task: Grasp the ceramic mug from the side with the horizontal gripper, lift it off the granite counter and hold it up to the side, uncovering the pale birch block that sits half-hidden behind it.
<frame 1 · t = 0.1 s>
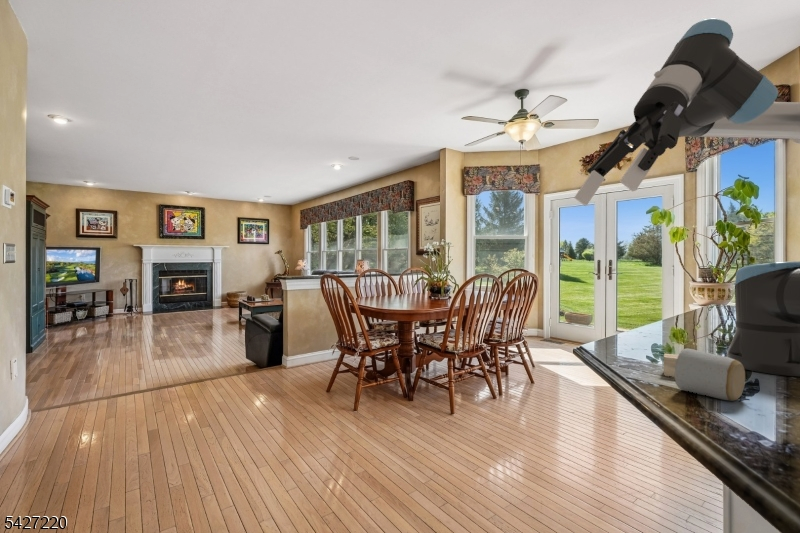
hand: (601, 194, 67), 36 cm above the countertop, tool tilted 35°, fingers open, 13 cm apart
ceramic mug: (710, 395, 67), on the countertop
birch block: (676, 375, 78), on the countertop
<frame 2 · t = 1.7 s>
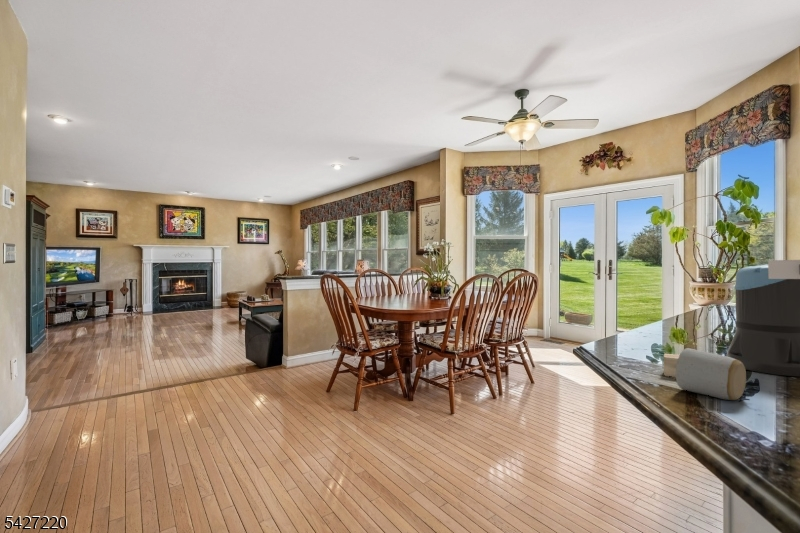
hand: (782, 269, 59), 22 cm above the countertop, tool horizontal, fingers open, 13 cm apart
nothing on the countertop moved.
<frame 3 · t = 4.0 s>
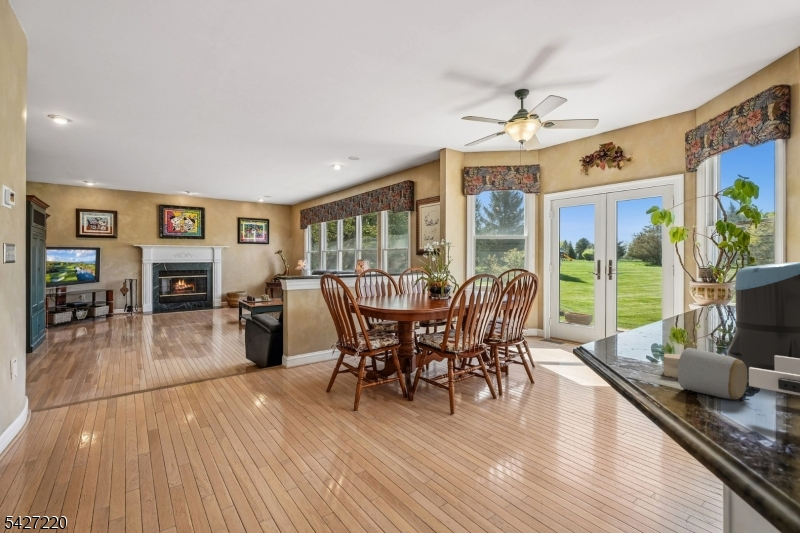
hand: (762, 369, 61), 6 cm above the countertop, tool horizontal, fingers open, 13 cm apart
nothing on the countertop moved.
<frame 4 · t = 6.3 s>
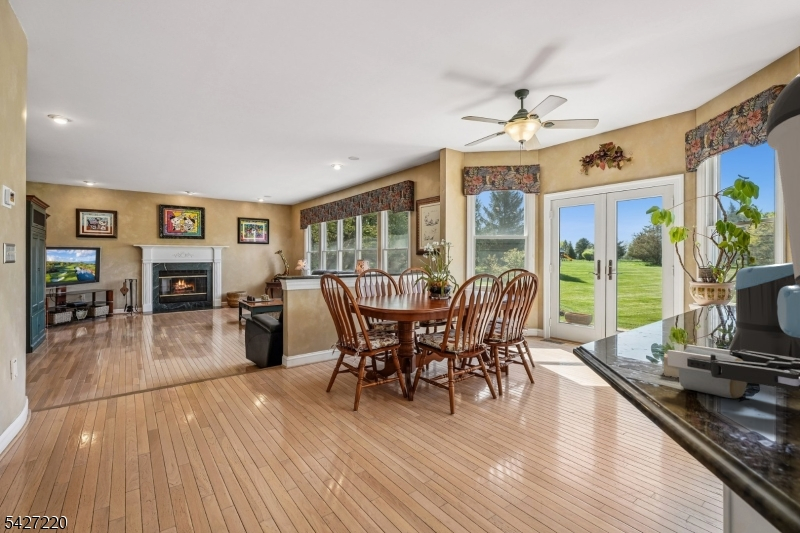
hand: (678, 354, 71), 6 cm above the countertop, tool horizontal, fingers closed on ceramic mug, 7 cm apart
ceramic mug: (713, 393, 67), on the countertop, touching gripper
everything else where it was.
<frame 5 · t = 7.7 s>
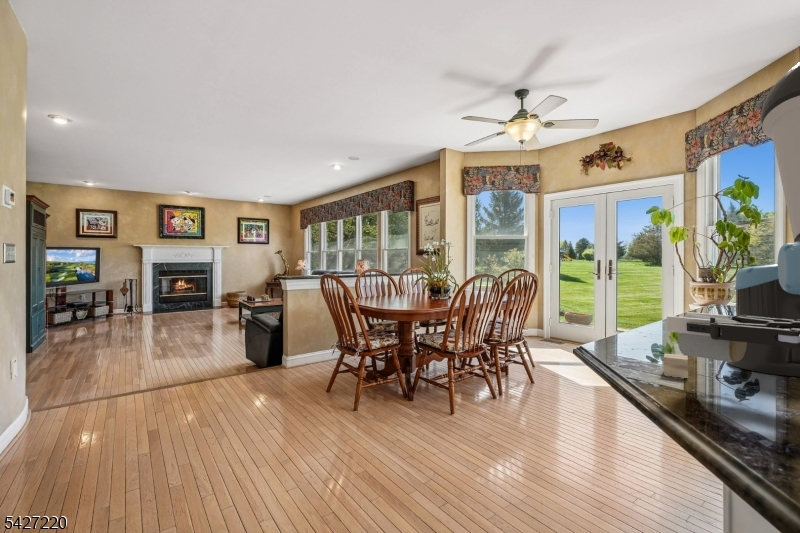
hand: (677, 321, 70), 12 cm above the countertop, tool horizontal, fingers closed on ceramic mug, 7 cm apart
ceramic mug: (713, 358, 67), point 6 cm above the countertop, touching gripper
everything else where it was.
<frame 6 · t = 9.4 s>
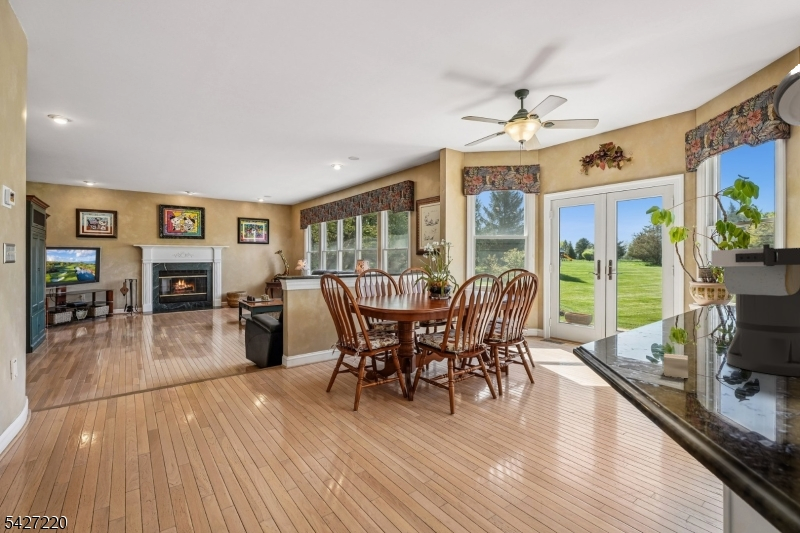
hand: (721, 258, 65), 24 cm above the countertop, tool horizontal, fingers closed on ceramic mug, 7 cm apart
ceramic mug: (762, 295, 62), point 18 cm above the countertop, touching gripper
everything else where it was.
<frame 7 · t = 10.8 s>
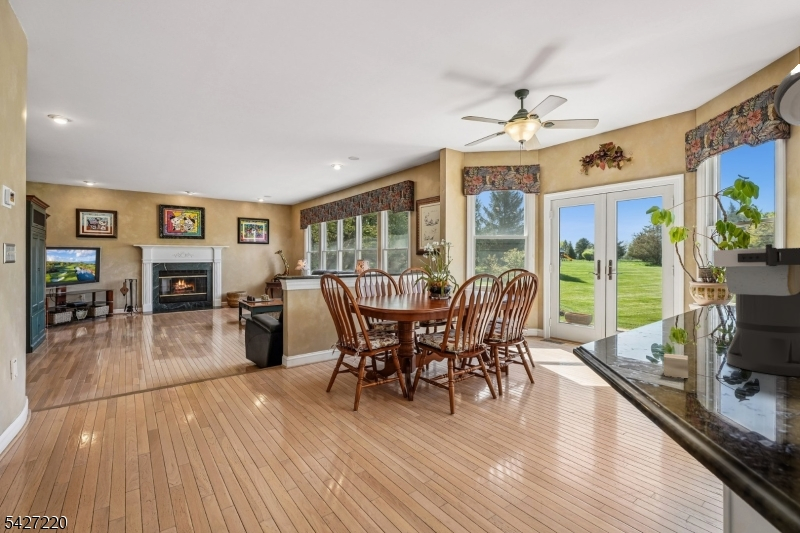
hand: (723, 258, 65), 24 cm above the countertop, tool horizontal, fingers closed on ceramic mug, 7 cm apart
ceramic mug: (764, 295, 62), point 18 cm above the countertop, touching gripper
everything else where it was.
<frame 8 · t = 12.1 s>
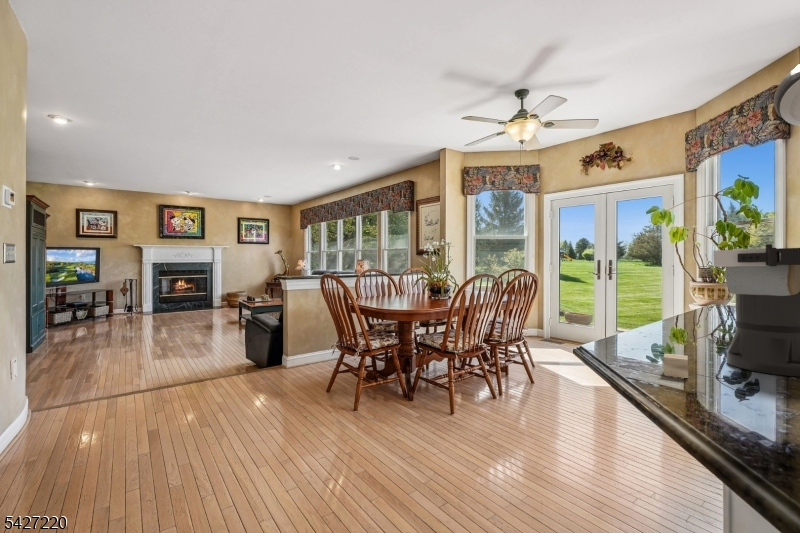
hand: (723, 258, 65), 24 cm above the countertop, tool horizontal, fingers closed on ceramic mug, 7 cm apart
ceramic mug: (764, 295, 62), point 18 cm above the countertop, touching gripper
everything else where it was.
at the end: ceramic mug point 17.7 cm above the countertop; ceramic mug tilted 1°; birch block moved 0.1 cm from its start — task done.
